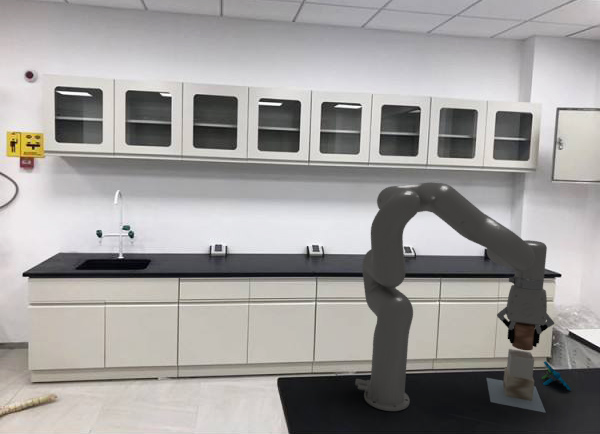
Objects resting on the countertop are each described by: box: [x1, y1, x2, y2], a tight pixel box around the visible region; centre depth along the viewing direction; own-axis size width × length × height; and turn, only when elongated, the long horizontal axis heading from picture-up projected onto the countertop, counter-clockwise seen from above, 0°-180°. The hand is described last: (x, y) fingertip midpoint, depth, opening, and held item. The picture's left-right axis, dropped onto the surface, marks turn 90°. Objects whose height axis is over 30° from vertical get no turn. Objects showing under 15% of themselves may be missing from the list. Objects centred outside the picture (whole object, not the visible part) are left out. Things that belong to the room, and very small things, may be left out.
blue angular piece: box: [541, 361, 572, 391], centre depth 139 cm, size 11×6×10 cm
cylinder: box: [511, 322, 535, 351], centre depth 130 cm, size 6×6×7 cm
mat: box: [486, 377, 547, 413], centre depth 132 cm, size 14×16×1 cm
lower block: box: [502, 366, 535, 401], centre depth 132 cm, size 7×7×6 cm
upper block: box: [506, 348, 535, 380], centre depth 131 cm, size 6×6×6 cm
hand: (522, 342), depth 131 cm, fingers closed on cylinder, 5 cm apart
